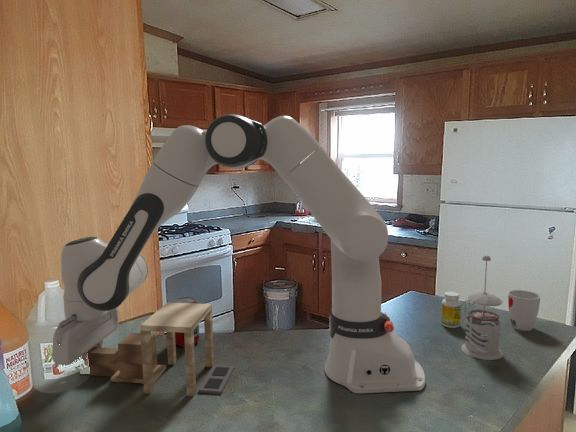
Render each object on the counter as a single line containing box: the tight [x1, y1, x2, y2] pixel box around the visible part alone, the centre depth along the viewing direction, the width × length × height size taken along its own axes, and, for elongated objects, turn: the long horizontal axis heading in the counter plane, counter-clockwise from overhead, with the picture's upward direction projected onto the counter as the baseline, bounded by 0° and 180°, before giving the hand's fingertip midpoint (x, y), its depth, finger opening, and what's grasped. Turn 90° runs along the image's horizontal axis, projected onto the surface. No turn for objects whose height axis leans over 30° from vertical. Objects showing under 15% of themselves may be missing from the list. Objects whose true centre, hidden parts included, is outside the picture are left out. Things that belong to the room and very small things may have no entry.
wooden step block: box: [87, 332, 167, 384], centre depth 96 cm, size 19×7×9 cm, turn 83°
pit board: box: [198, 364, 235, 395], centre depth 94 cm, size 5×11×1 cm, turn 173°
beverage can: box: [174, 296, 200, 348], centre depth 112 cm, size 7×7×12 cm
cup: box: [507, 289, 541, 332], centre depth 120 cm, size 8×8×10 cm
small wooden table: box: [139, 302, 215, 397], centre depth 94 cm, size 11×14×15 cm
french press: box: [460, 255, 504, 361], centre depth 106 cm, size 10×12×25 cm
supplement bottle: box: [440, 291, 462, 329], centre depth 123 cm, size 5×5×10 cm
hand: (90, 364), depth 97 cm, fingers closed on wooden step block, 3 cm apart
